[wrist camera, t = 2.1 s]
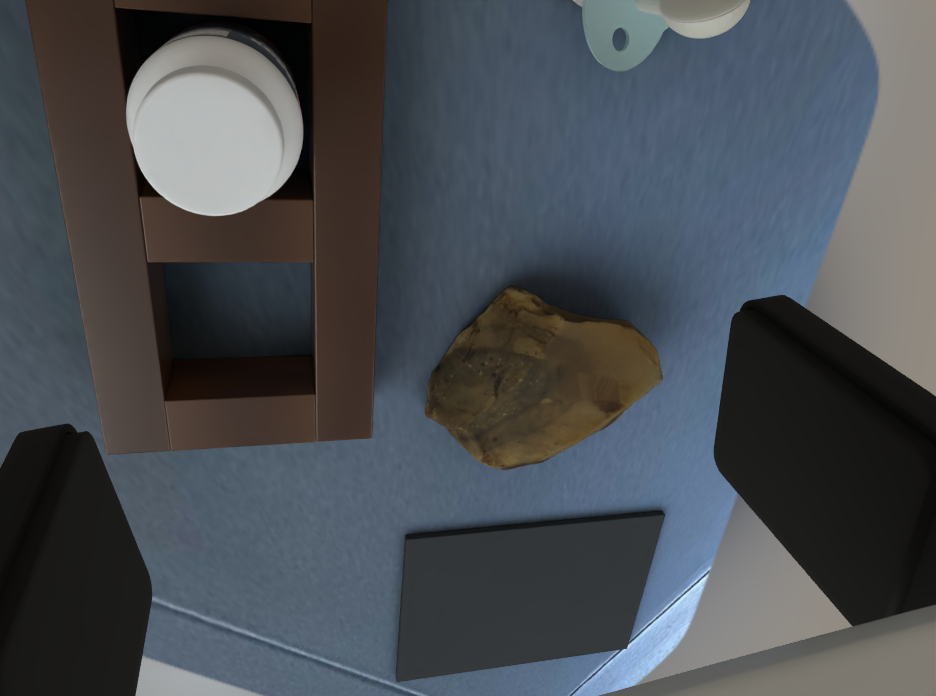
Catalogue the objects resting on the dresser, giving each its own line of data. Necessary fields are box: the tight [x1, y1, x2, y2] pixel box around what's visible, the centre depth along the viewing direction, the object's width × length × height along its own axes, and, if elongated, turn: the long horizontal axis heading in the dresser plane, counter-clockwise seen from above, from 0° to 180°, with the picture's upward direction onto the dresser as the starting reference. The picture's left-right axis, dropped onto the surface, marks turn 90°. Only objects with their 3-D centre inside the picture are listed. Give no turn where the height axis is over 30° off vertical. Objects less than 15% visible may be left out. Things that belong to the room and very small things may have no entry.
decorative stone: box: [425, 286, 663, 470], centre depth 35 cm, size 10×9×4 cm
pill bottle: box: [126, 21, 303, 216], centre depth 24 cm, size 5×5×9 cm
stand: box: [25, 0, 388, 454], centre depth 28 cm, size 11×20×4 cm, turn 174°
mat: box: [396, 511, 665, 682], centre depth 45 cm, size 16×12×1 cm
